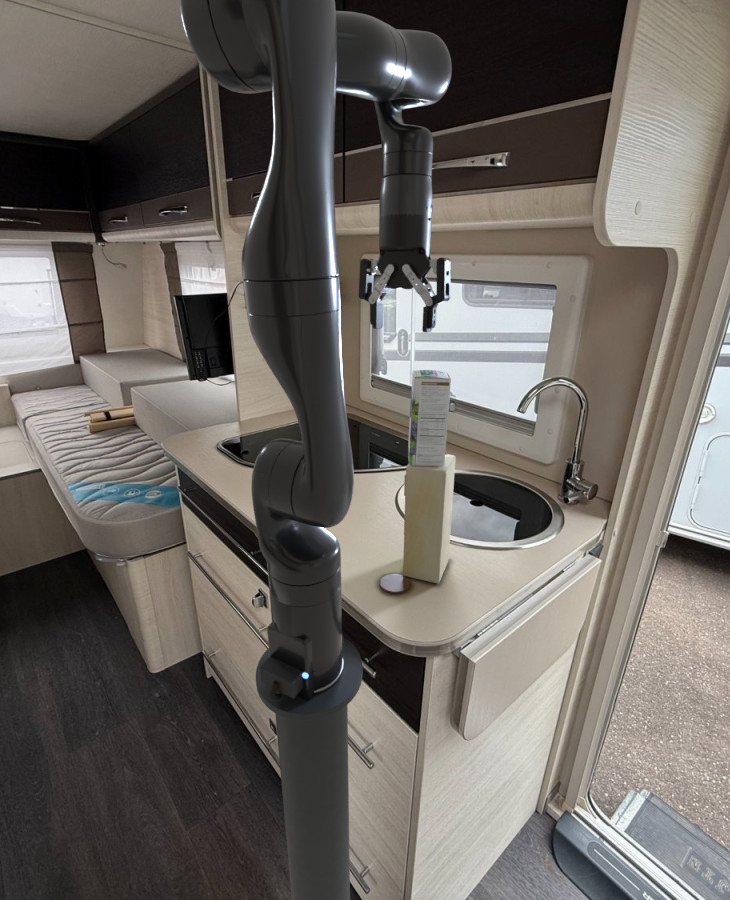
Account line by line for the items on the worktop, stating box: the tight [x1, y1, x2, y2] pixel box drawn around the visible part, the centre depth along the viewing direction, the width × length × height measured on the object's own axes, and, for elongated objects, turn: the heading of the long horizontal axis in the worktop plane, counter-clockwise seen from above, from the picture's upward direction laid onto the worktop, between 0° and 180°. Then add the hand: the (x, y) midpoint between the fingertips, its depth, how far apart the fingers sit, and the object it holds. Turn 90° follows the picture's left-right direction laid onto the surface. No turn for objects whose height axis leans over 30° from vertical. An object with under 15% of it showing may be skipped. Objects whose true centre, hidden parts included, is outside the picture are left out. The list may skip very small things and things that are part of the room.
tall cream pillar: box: [402, 453, 457, 584], centre depth 81 cm, size 8×7×21 cm
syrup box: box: [407, 369, 452, 466], centre depth 75 cm, size 6×6×14 cm
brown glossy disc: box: [379, 573, 410, 595], centre depth 80 cm, size 5×5×1 cm
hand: (401, 330), depth 73 cm, fingers open, 8 cm apart
